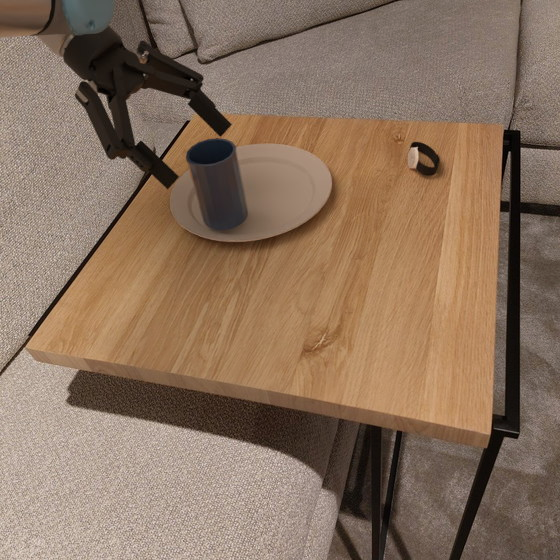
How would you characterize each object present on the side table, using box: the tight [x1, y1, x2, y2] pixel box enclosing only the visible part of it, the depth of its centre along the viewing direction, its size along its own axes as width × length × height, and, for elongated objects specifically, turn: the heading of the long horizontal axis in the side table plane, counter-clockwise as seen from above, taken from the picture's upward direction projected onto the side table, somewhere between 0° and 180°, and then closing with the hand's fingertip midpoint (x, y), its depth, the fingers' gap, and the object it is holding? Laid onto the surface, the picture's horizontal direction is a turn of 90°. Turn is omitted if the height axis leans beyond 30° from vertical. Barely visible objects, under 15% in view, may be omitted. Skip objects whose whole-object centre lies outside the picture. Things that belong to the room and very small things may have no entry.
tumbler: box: [185, 137, 248, 230], centre depth 83 cm, size 7×7×11 cm
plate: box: [169, 142, 333, 243], centre depth 92 cm, size 26×26×2 cm
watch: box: [407, 141, 441, 177], centre depth 92 cm, size 8×5×4 cm, turn 7°
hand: (201, 155), depth 80 cm, fingers open, 13 cm apart
